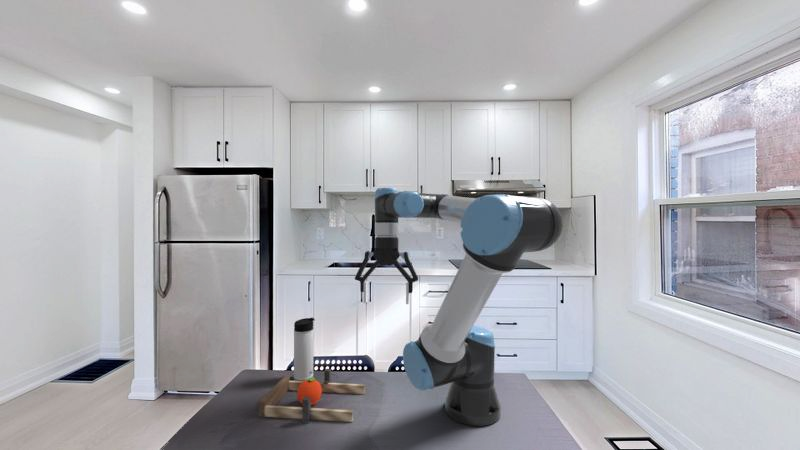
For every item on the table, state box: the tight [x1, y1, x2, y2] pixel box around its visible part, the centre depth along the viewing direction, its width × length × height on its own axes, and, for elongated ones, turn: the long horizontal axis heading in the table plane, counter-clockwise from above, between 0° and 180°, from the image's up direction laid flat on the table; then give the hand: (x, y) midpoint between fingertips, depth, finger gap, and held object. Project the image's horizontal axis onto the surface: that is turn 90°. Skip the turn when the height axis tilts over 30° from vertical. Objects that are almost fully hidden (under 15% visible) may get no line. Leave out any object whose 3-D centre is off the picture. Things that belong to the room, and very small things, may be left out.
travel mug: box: [293, 317, 315, 381], centre depth 116 cm, size 6×7×20 cm
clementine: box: [296, 377, 323, 406], centre depth 100 cm, size 8×7×7 cm
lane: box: [258, 368, 366, 424], centre depth 100 cm, size 26×20×6 cm
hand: (386, 302), depth 111 cm, fingers open, 13 cm apart
